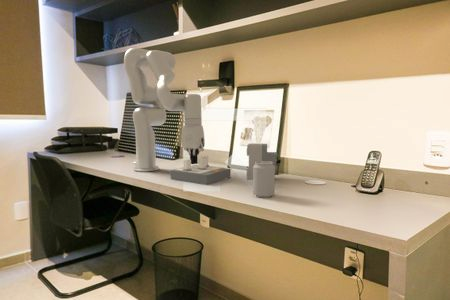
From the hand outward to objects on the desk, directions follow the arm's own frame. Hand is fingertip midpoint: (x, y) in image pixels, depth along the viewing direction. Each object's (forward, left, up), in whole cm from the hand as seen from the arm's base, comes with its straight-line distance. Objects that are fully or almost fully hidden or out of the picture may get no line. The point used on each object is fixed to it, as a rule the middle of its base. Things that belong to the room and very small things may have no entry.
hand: (193, 163), depth 146 cm
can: (+41, -10, -7) cm, 43 cm away
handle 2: (+1, +6, -2) cm, 6 cm away
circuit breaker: (+27, +16, -7) cm, 32 cm away
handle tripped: (+5, 0, -2) cm, 5 cm away
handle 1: (+1, -6, -2) cm, 6 cm away
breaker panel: (+4, 0, -6) cm, 7 cm away
